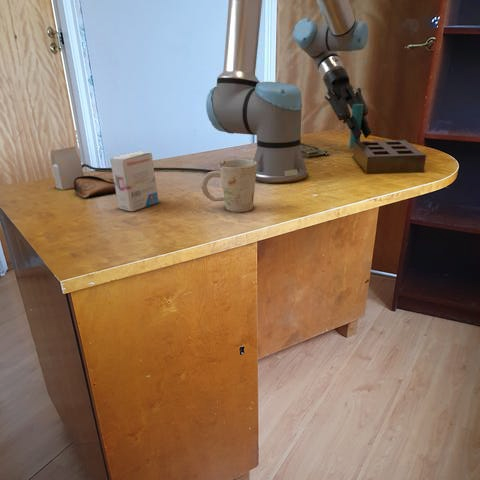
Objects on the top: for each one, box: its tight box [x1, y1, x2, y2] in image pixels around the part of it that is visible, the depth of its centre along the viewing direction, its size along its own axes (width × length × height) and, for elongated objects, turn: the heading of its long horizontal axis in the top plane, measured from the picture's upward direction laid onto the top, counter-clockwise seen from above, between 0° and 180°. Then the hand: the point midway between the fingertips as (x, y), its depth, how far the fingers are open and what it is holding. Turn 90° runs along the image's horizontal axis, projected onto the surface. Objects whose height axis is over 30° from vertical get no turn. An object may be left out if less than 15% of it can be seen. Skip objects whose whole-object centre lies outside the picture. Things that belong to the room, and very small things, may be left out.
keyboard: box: [300, 142, 328, 159], centre depth 165 cm, size 22×9×2 cm, turn 25°
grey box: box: [50, 145, 85, 191], centre depth 133 cm, size 4×7×10 cm, turn 135°
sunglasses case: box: [73, 171, 116, 199], centre depth 130 cm, size 18×7×7 cm
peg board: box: [352, 139, 427, 174], centre depth 144 cm, size 16×22×4 cm
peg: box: [349, 104, 363, 149], centre depth 158 cm, size 3×3×13 cm
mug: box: [200, 158, 257, 213], centre depth 110 cm, size 8×13×10 cm, turn 89°
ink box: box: [109, 151, 159, 212], centre depth 114 cm, size 8×5×12 cm, turn 141°
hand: (363, 135), depth 156 cm, fingers closed on peg, 3 cm apart
